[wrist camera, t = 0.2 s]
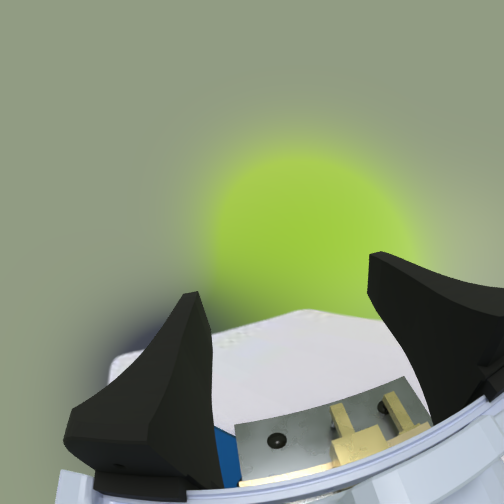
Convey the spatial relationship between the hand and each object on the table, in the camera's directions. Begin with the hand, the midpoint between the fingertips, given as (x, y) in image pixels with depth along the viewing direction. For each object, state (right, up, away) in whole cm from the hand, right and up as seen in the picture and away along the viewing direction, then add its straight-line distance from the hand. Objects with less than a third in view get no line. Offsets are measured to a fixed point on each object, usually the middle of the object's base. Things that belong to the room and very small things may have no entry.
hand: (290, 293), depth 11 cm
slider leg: (+7, -17, +9) cm, 21 cm away
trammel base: (+7, -18, +9) cm, 22 cm away
